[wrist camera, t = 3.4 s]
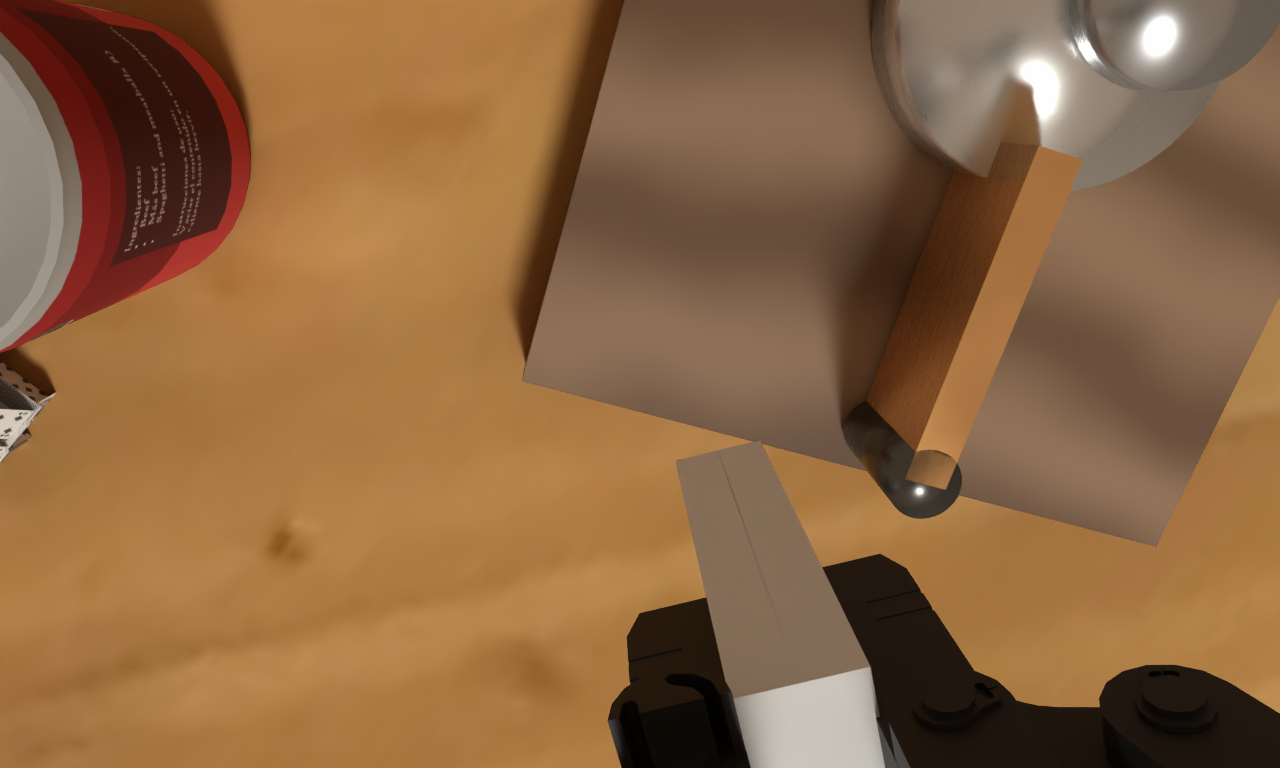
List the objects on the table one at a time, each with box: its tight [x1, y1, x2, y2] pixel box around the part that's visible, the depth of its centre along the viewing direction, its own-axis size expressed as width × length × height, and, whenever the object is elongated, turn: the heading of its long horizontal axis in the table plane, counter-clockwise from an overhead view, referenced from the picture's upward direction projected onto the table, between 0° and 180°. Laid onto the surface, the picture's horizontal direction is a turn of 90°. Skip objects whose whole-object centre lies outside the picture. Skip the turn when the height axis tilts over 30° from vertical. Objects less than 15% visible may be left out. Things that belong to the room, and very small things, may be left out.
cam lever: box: [844, 0, 1280, 519], centre depth 25 cm, size 18×12×5 cm
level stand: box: [522, 0, 1280, 546], centre depth 27 cm, size 24×22×2 cm
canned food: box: [0, 0, 251, 353], centre depth 22 cm, size 8×8×11 cm
